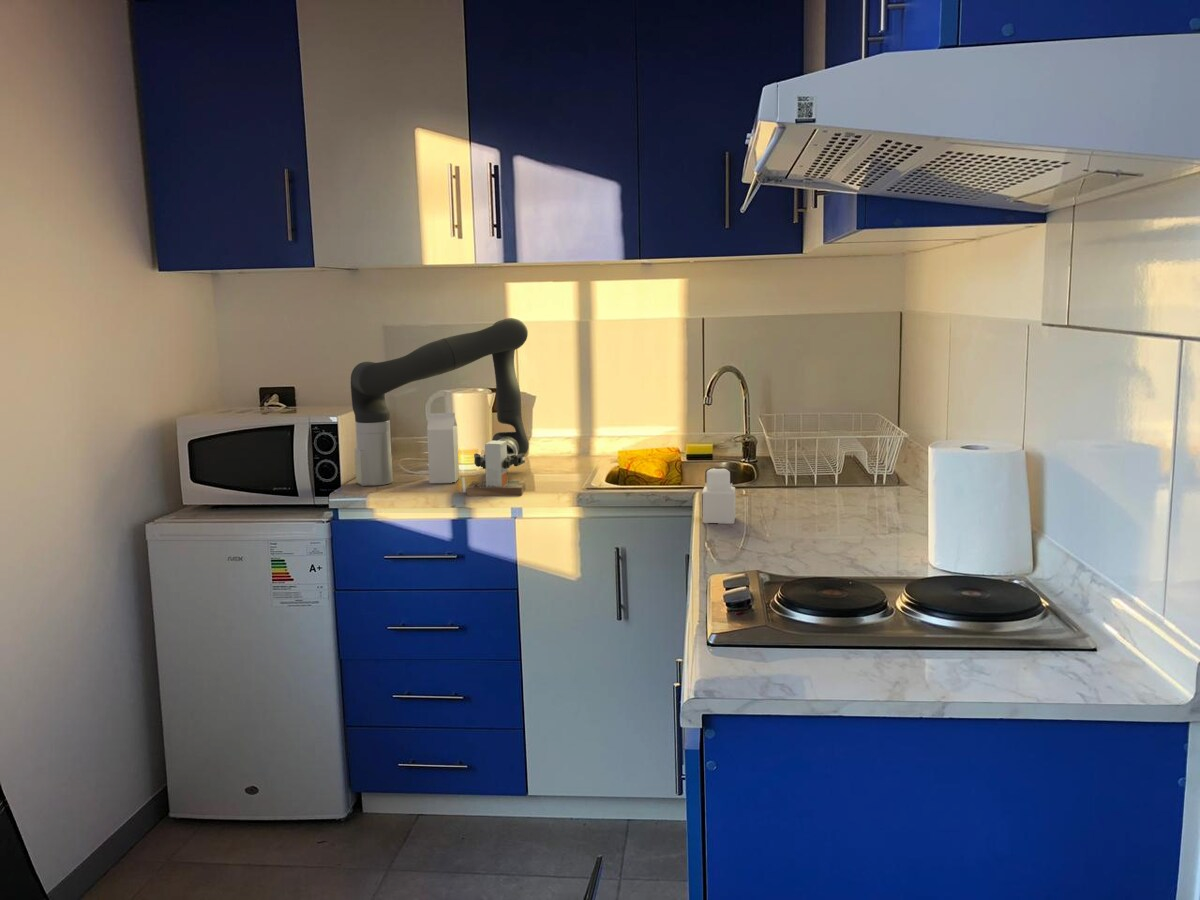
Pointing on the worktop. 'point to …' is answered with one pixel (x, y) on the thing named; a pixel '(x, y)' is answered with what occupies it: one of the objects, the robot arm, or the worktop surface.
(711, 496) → the medicine bottle
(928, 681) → the worktop surface
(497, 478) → the skincare box
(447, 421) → the milk carton
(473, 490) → the stop dock
